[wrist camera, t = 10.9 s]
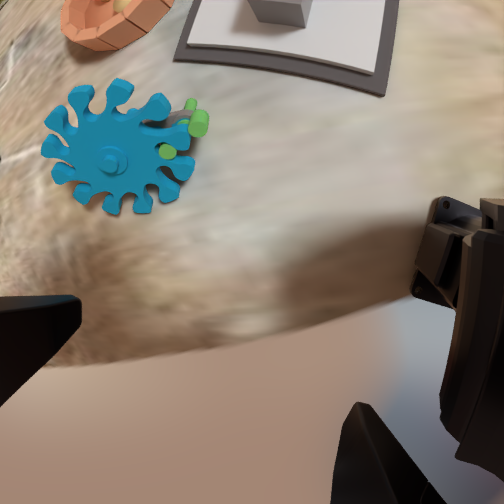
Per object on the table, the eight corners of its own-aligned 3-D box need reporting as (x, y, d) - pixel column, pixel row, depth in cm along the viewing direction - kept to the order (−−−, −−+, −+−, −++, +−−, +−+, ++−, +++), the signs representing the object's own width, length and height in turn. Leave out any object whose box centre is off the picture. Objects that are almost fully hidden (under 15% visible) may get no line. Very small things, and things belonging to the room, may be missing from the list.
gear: (86, 231, 21) (9, 129, 13) (106, 177, 24) (50, 82, 16) (230, 205, 20) (180, 56, 12) (231, 148, 23) (196, 26, 15)
